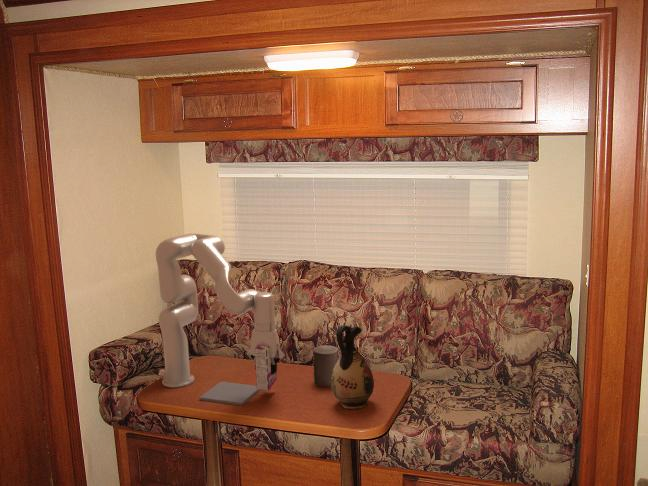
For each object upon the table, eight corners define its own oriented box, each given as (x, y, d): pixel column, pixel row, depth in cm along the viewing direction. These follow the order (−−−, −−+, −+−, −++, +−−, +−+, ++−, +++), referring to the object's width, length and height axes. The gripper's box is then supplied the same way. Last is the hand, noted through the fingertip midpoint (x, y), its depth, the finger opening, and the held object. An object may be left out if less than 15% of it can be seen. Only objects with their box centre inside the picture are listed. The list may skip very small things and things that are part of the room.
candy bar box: (264, 378, 235) (263, 337, 232) (277, 379, 234) (276, 338, 231) (255, 390, 224) (254, 347, 222) (268, 391, 223) (267, 348, 221)
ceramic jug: (348, 391, 231) (346, 315, 227) (382, 401, 222) (381, 321, 217) (320, 407, 219) (316, 326, 214) (354, 418, 209) (352, 334, 204)
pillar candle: (310, 385, 239) (309, 348, 236) (319, 376, 248) (318, 340, 245) (333, 388, 235) (332, 351, 233) (342, 379, 244) (341, 343, 242)
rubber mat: (199, 399, 229) (199, 397, 229) (221, 383, 244) (221, 381, 244) (242, 405, 223) (241, 403, 222) (261, 388, 237) (261, 386, 237)
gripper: (239, 326, 225) (241, 373, 228) (281, 331, 219) (283, 379, 222) (248, 320, 232) (250, 366, 235) (290, 325, 226) (291, 371, 229)
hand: (266, 372), depth 228 cm, fingers closed on candy bar box, 5 cm apart
